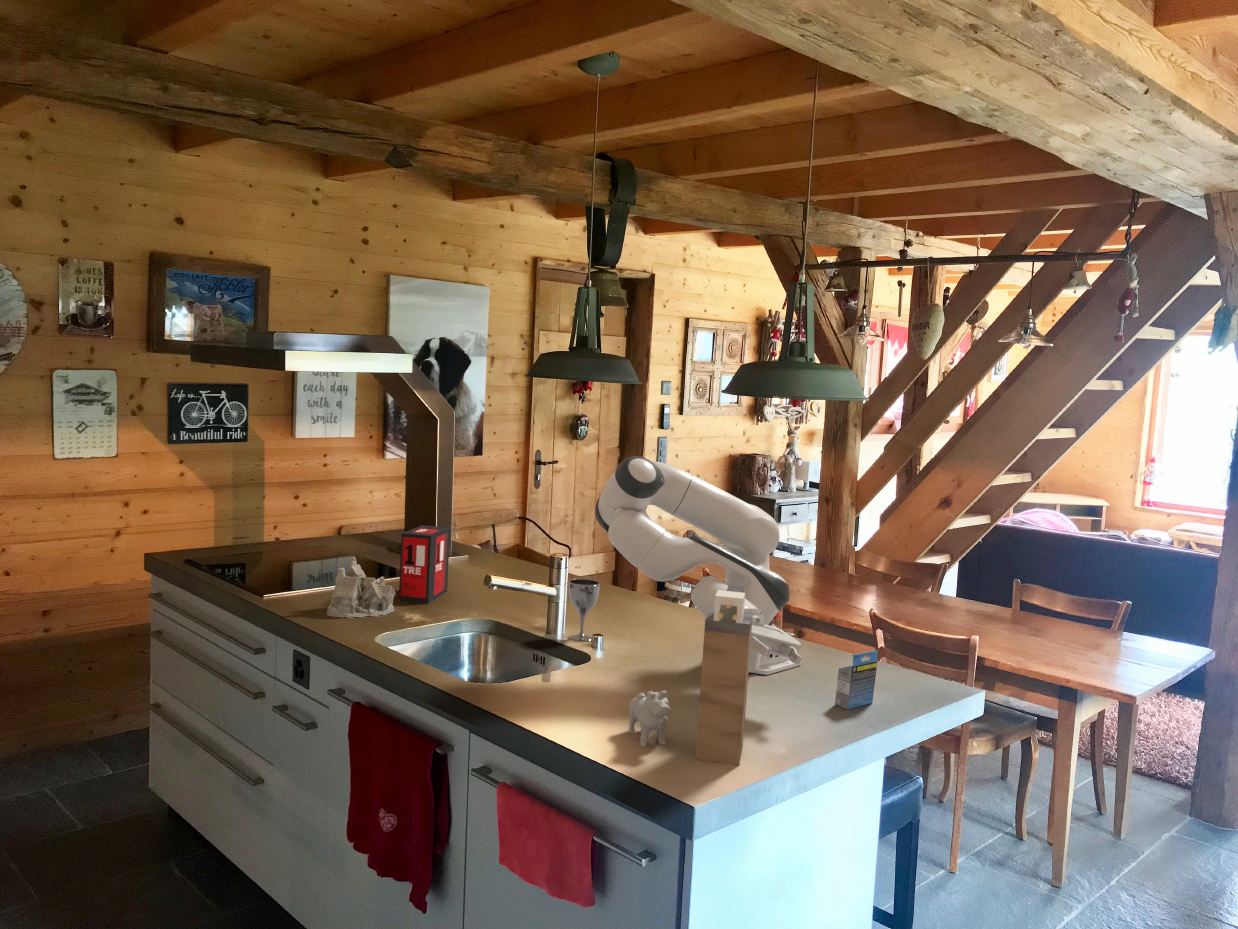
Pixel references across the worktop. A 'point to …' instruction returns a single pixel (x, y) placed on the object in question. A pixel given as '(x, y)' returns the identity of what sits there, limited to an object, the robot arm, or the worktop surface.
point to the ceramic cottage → (360, 594)
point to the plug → (730, 604)
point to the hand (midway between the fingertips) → (783, 657)
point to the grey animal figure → (649, 715)
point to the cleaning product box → (424, 564)
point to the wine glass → (583, 602)
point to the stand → (723, 689)
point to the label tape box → (857, 681)
